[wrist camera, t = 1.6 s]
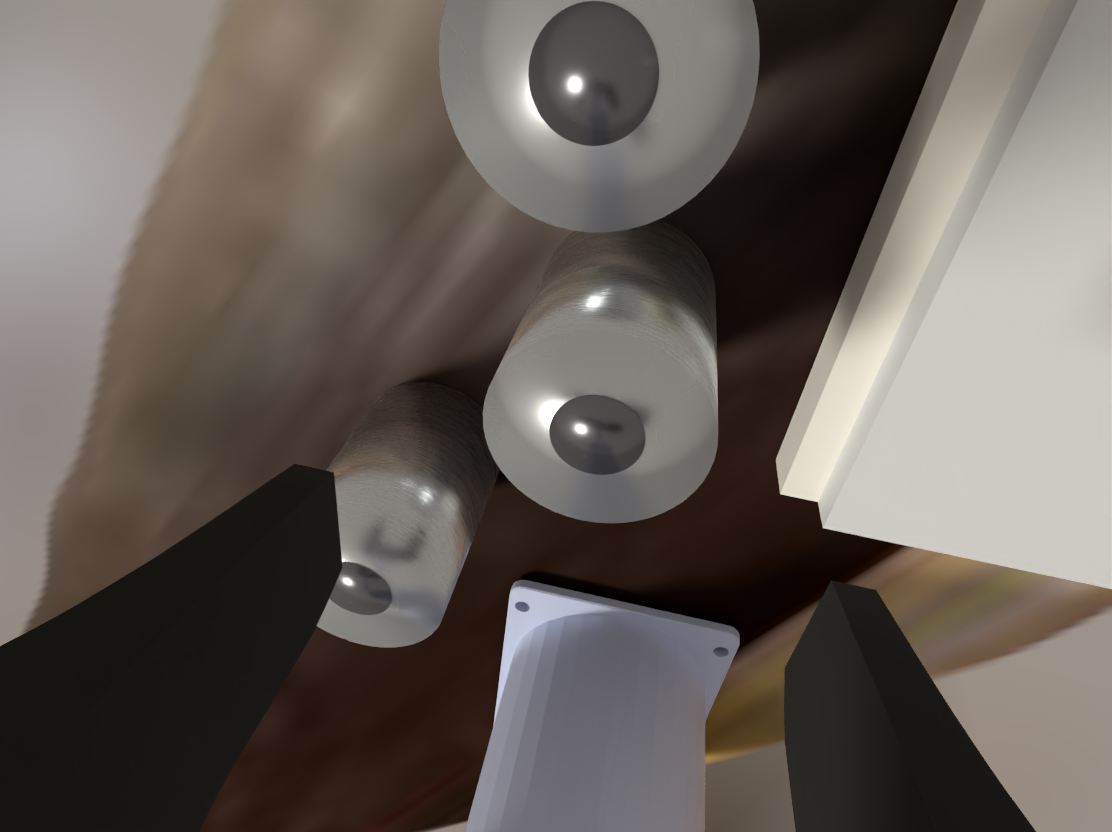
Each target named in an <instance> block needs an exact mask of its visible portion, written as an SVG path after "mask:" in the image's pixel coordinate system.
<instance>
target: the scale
mask: <svg viewBox="0 0 1112 832" xmlns="http://www.w3.org/2000/svg"><path fill="white" fill-rule="evenodd" d="M776 465H777V473H778V481H779V489H780V494H782V495H787V496H792V497H797V498H801V499H806V500H811V501H816V502H818V505H819V510H820V516H821V521H822V526H823V528H825V529H830V530H835V531H839V532H844V533H849V534H854V535H858V536H863V537H868V538H872V539H877V540H882V541H887V542H891V543H896V544H901V545H905V546H910V547H915V548H920V549H924V550H929V551H934V552H939V553H943V554H948V555H953V556H957V557H962V558H967V559H972V560H976V561H981V562H986V563H990V564H995V565H1000V566H1005V567H1009V568H1014V569H1019V570H1024V571H1028V572H1033V573H1038V574H1042V575H1047V576H1052V577H1057V578H1061V579H1066V580H1071V581H1076V582H1080V583H1085V584H1090V585H1094V586H1099V587H1104V588H1109V589H1112V0H958V1H957V3H956V6H955V8H954V11H953V14H952V16H951V19H950V21H949V24H948V26H947V29H946V31H945V34H944V36H943V39H942V41H941V44H940V46H939V49H938V51H937V54H936V56H935V59H934V61H933V64H932V67H931V69H930V72H929V74H928V77H927V79H926V82H925V84H924V87H923V89H922V92H921V94H920V97H919V99H918V102H917V104H916V107H915V109H914V112H913V115H912V117H911V120H910V122H909V125H908V127H907V130H906V132H905V135H904V137H903V140H902V142H901V145H900V147H899V150H898V152H897V155H896V157H895V160H894V162H893V165H892V168H891V170H890V173H889V175H888V178H887V180H886V183H885V185H884V188H883V190H882V193H881V195H880V198H879V200H878V203H877V205H876V208H875V210H874V213H873V215H872V218H871V221H870V223H869V226H868V228H867V231H866V233H865V236H864V238H863V241H862V243H861V246H860V248H859V251H858V253H857V256H856V258H855V261H854V263H853V266H852V269H851V271H850V274H849V276H848V279H847V281H846V284H845V286H844V289H843V291H842V294H841V296H840V299H839V301H838V304H837V306H836V309H835V311H834V314H833V316H832V319H831V322H830V324H829V327H828V329H827V332H826V334H825V337H824V339H823V342H822V344H821V347H820V349H819V352H818V354H817V357H816V359H815V362H814V364H813V367H812V369H811V372H810V375H809V377H808V380H807V382H806V385H805V387H804V390H803V392H802V395H801V397H800V400H799V402H798V405H797V407H796V410H795V412H794V415H793V417H792V420H791V423H790V425H789V428H788V430H787V433H786V435H785V438H784V440H783V443H782V445H781V448H780V450H779V453H778V455H777V458H776Z"/></svg>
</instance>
